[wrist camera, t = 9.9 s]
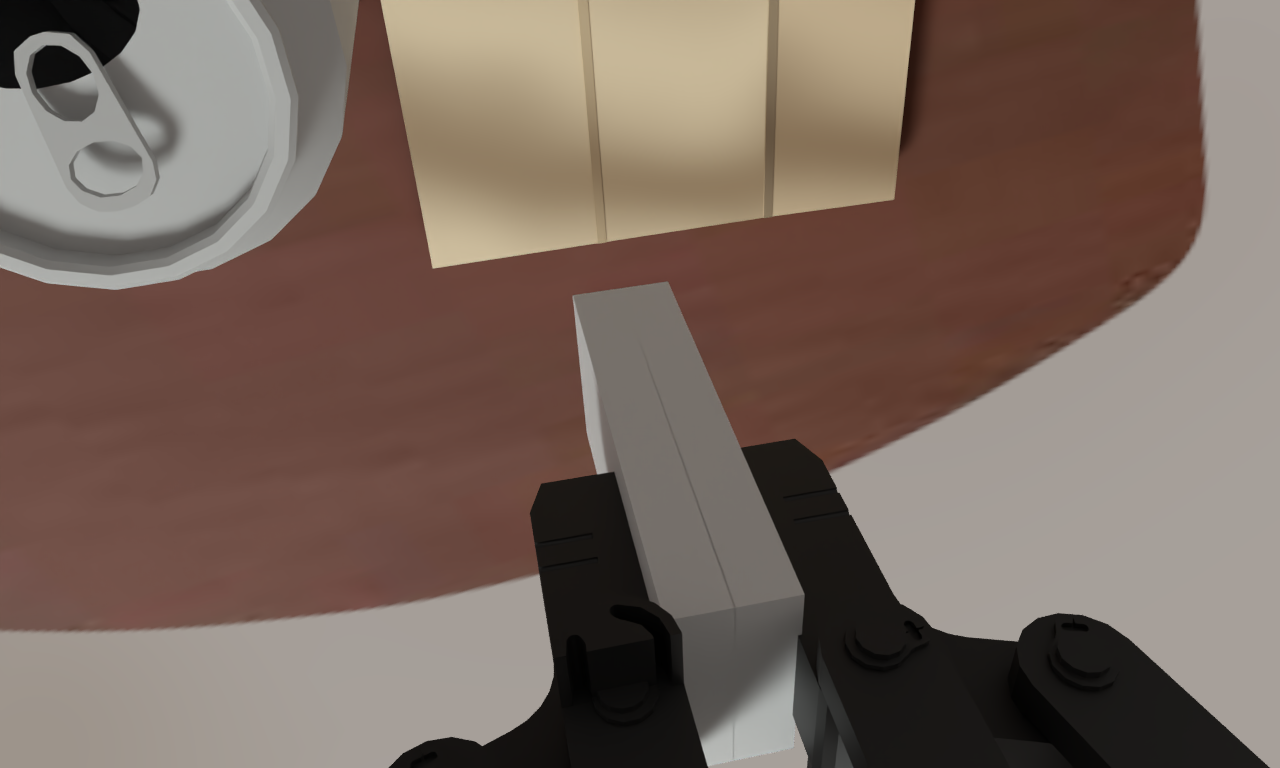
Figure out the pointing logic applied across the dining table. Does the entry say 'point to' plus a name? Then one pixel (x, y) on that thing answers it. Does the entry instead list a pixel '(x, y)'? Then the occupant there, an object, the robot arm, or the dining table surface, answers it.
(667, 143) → the plank
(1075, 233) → the dining table surface
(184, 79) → the can
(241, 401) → the dining table surface
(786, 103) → the laid board
